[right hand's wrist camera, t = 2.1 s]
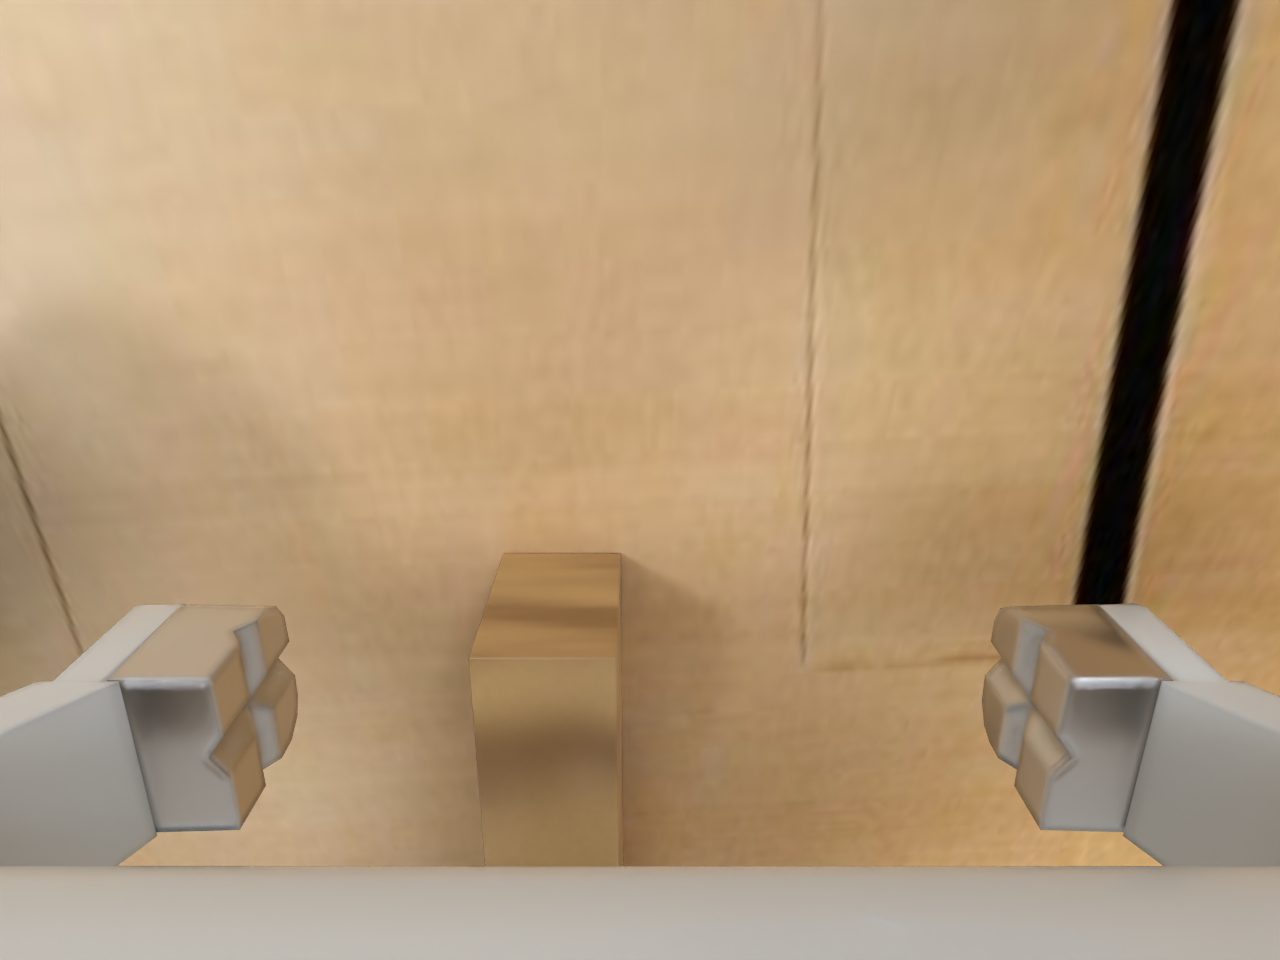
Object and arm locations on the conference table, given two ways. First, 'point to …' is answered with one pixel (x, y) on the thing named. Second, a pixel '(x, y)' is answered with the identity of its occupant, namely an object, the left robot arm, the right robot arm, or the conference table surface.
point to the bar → (550, 711)
